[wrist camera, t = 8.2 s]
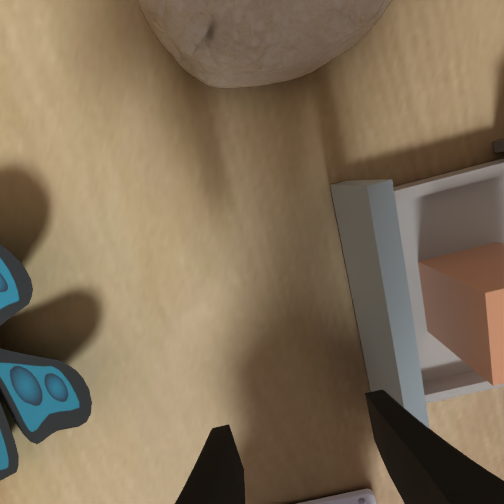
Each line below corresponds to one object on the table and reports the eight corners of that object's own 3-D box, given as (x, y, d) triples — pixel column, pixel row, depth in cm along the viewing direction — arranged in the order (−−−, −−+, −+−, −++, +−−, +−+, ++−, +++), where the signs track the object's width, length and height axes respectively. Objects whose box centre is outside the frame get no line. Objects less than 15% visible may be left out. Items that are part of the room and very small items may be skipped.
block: (427, 331, 18) (493, 386, 13) (417, 261, 17) (485, 293, 12) (502, 313, 18) (597, 362, 13) (497, 242, 17) (597, 266, 12)
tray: (373, 407, 20) (417, 486, 15) (330, 185, 17) (366, 185, 12) (553, 367, 19) (663, 434, 14) (544, 128, 16) (684, 102, 11)
